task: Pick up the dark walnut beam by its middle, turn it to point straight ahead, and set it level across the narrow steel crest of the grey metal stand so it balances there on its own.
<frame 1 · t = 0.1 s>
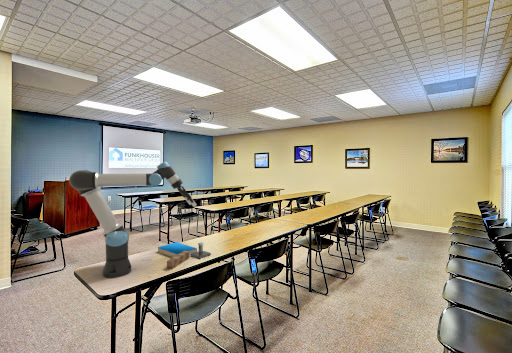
hand: (193, 204, 181), 36 cm above the table, tool tilted 35°, fingers open, 13 cm apart
grey post on base: (200, 255, 178), on the table
walnut beam: (178, 263, 164), on the table
book: (177, 253, 186), on the table
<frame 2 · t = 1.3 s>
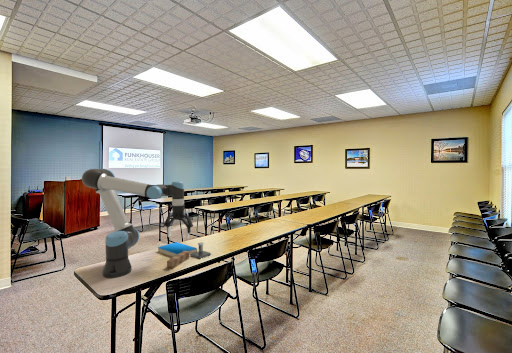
hand: (178, 237, 164), 17 cm above the table, tool pointing down, fingers open, 13 cm apart
nothing on the table moved.
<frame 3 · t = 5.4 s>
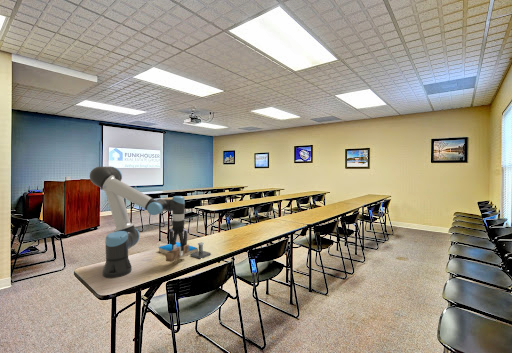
hand: (177, 255, 164), 5 cm above the table, tool pointing down, fingers closed on walnut beam, 4 cm apart
walnut beam: (177, 256, 164), point 4 cm above the table, touching gripper
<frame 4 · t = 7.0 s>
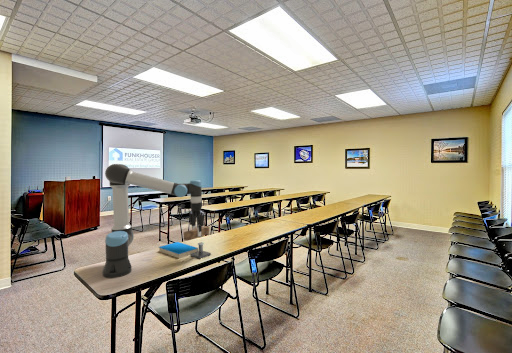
hand: (197, 235, 175), 15 cm above the table, tool pointing down, fingers closed on walnut beam, 4 cm apart
walnut beam: (197, 236, 175), point 14 cm above the table, touching gripper
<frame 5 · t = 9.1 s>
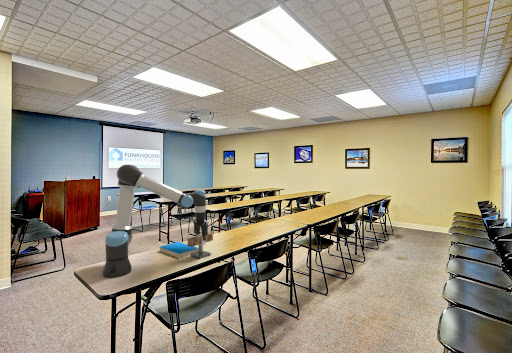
hand: (201, 244, 178), 8 cm above the table, tool pointing down, fingers closed on walnut beam, 4 cm apart
walnut beam: (200, 243, 178), point 9 cm above the table, touching gripper, grey post on base
when the fingers open (8 cm above the table, at t = 10.0 s): walnut beam stays where it is, resting on grey post on base.
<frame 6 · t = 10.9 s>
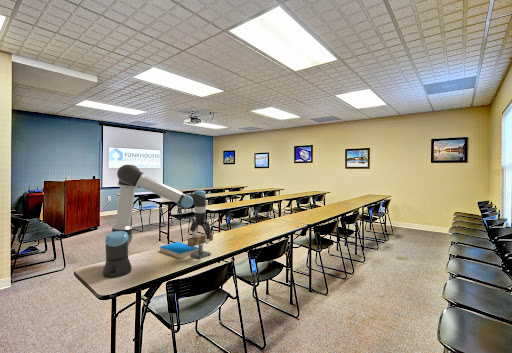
hand: (200, 242, 178), 10 cm above the table, tool pointing down, fingers open, 13 cm apart
walnut beam: (200, 243, 178), point 9 cm above the table, touching grey post on base
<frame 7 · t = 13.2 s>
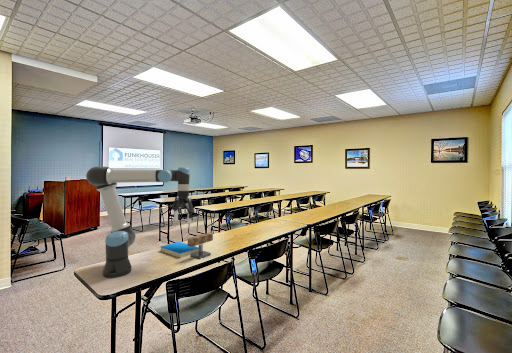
hand: (182, 221, 169), 26 cm above the table, tool pointing down, fingers open, 13 cm apart
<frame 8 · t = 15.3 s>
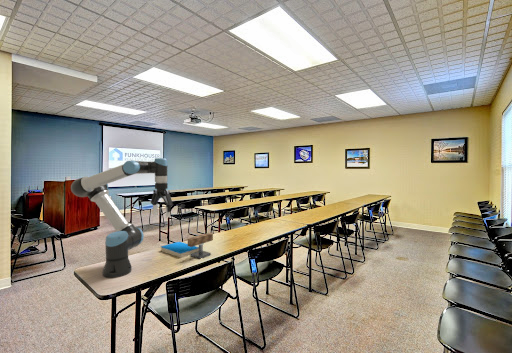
hand: (161, 216, 159), 32 cm above the table, tool pointing down, fingers open, 13 cm apart
at the end: walnut beam 0.1 cm off-centre on the grey post on base, point 9.0 cm above the grey post on base's base; walnut beam tilted 0°; walnut beam touching grey post on base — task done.
